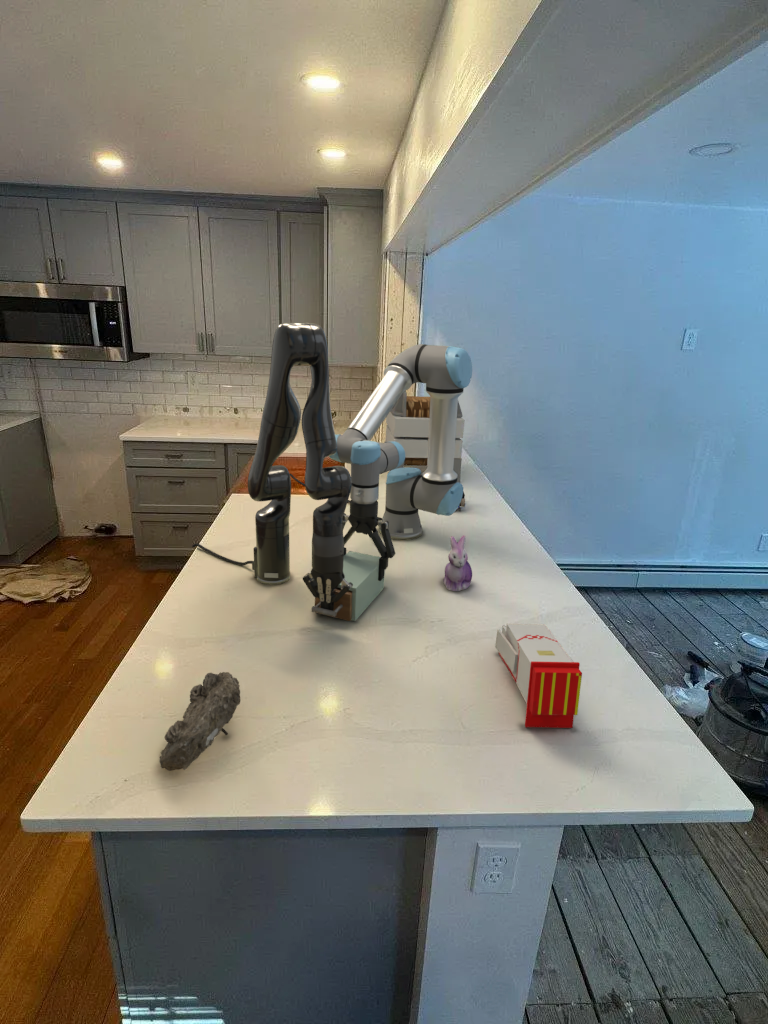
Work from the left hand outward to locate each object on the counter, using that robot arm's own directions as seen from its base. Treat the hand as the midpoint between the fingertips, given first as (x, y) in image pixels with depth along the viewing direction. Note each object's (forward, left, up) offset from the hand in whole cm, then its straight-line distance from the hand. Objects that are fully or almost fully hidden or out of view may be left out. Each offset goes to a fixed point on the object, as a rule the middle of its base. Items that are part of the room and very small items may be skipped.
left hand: (327, 613), depth 140 cm
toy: (+50, +1, -3) cm, 50 cm away
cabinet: (-1, +15, -3) cm, 15 cm away
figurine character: (-2, +104, -3) cm, 104 cm away
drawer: (-1, +10, -2) cm, 10 cm away
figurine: (+21, +37, -3) cm, 43 cm away
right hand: (-2, +21, +1) cm, 21 cm away
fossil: (0, -43, -3) cm, 43 cm away
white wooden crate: (-33, +142, -3) cm, 146 cm away
